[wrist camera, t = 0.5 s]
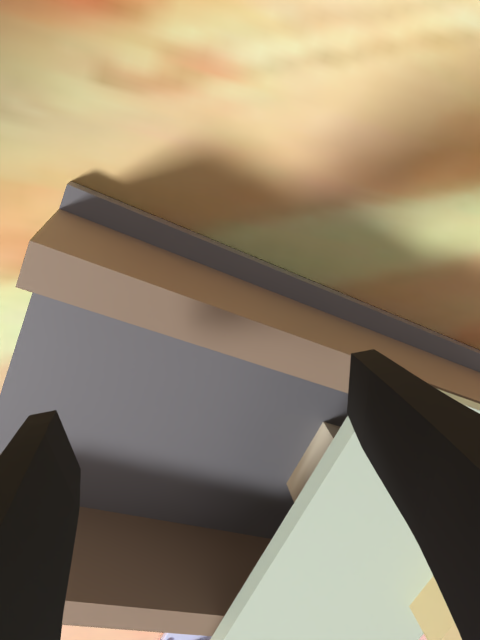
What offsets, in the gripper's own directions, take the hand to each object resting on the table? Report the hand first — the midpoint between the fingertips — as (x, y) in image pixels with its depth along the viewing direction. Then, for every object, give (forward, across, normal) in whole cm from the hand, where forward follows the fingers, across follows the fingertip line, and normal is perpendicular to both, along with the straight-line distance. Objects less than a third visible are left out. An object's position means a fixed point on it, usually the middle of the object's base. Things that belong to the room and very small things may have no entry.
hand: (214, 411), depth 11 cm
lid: (+3, -7, +13) cm, 15 cm away
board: (+9, -7, +14) cm, 18 cm away
